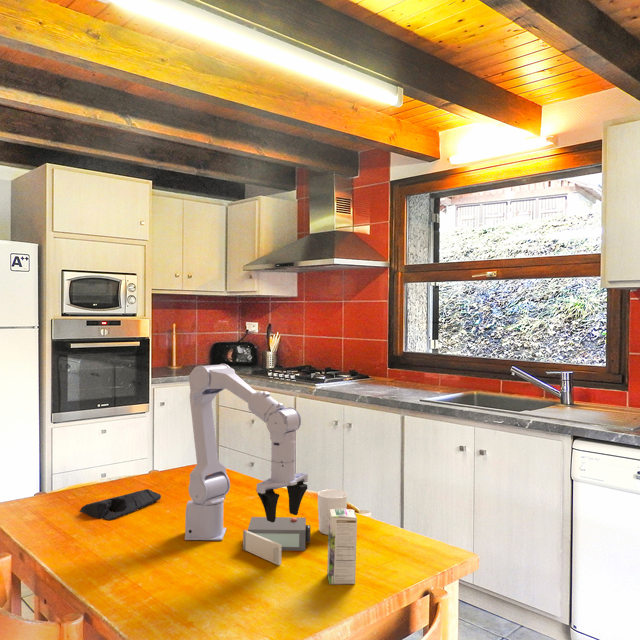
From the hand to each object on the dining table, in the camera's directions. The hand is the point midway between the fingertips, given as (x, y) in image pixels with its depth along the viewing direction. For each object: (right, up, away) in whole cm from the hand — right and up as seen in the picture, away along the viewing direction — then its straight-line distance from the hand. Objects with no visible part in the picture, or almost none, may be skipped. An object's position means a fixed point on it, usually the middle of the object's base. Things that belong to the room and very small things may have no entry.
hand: (282, 517), depth 141 cm
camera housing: (-2, -9, +9) cm, 13 cm away
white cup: (+12, -10, +18) cm, 24 cm away
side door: (-5, -9, 0) cm, 10 cm away
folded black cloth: (-49, -9, +35) cm, 61 cm away
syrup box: (+14, -10, -11) cm, 20 cm away
